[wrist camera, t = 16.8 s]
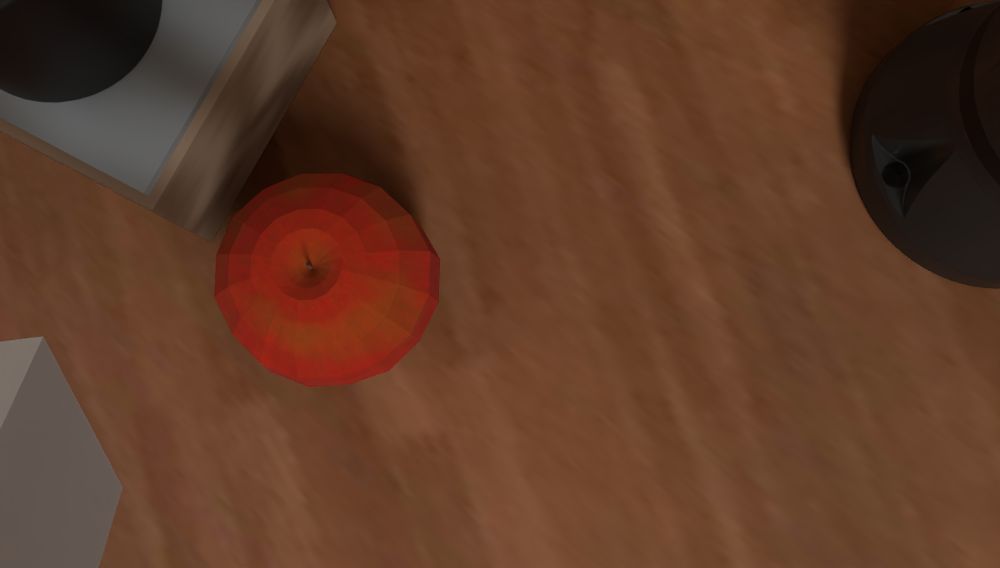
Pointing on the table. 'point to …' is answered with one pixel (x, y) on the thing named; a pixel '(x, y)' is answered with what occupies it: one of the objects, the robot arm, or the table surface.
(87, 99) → the grey square box
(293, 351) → the apple
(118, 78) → the mug
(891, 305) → the table surface
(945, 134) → the robot arm
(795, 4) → the table surface
